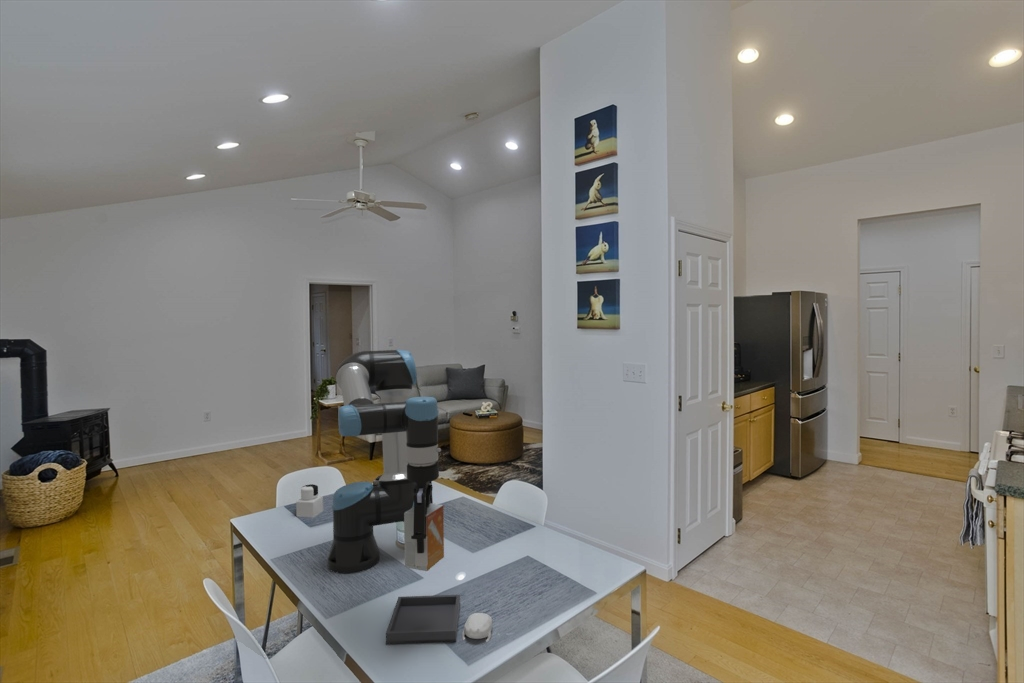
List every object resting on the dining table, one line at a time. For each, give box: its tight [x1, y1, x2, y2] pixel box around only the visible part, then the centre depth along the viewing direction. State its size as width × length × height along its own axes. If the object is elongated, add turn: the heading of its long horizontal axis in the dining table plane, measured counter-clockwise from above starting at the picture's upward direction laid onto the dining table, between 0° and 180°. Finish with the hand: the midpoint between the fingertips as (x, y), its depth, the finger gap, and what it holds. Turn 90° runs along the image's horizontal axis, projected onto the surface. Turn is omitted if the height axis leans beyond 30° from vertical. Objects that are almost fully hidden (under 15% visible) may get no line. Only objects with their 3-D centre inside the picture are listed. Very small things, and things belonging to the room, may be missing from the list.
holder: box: [385, 594, 461, 645], centre depth 120 cm, size 16×16×2 cm
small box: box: [403, 503, 445, 572], centre depth 120 cm, size 8×6×13 cm
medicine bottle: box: [295, 484, 324, 519], centre depth 191 cm, size 7×7×12 cm
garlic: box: [461, 612, 493, 643], centre depth 116 cm, size 8×7×4 cm
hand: (424, 555), depth 120 cm, fingers closed on small box, 10 cm apart
